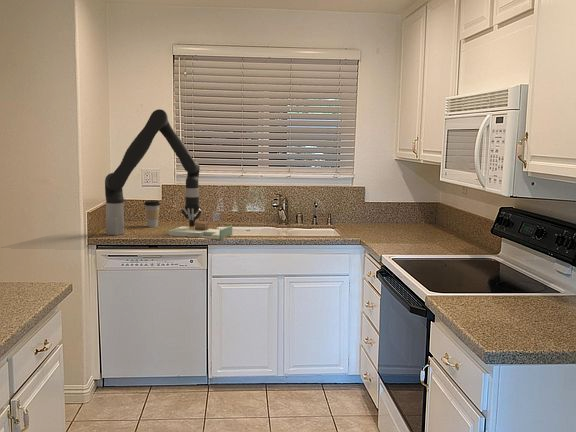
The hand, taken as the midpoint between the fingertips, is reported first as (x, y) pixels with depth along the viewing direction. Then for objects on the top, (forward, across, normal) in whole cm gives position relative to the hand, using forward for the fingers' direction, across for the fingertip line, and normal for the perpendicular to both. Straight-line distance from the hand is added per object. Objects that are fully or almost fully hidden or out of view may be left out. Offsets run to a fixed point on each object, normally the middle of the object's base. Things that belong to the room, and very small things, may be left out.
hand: (192, 226), depth 333 cm
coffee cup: (+4, -30, +10) cm, 32 cm away
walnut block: (+1, +6, -1) cm, 7 cm away
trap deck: (+4, +7, -4) cm, 9 cm away
